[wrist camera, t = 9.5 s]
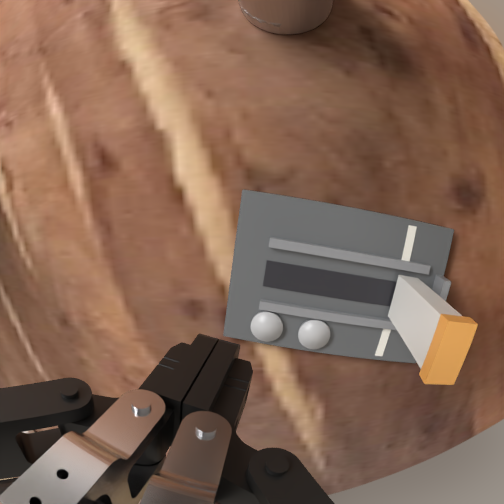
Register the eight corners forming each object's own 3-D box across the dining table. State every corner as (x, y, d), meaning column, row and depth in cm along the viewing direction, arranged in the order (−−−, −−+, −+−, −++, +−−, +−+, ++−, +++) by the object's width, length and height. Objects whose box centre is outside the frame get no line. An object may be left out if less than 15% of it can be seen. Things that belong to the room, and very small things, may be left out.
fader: (385, 317, 28) (424, 383, 17) (397, 272, 27) (448, 321, 16) (407, 320, 28) (453, 384, 17) (420, 276, 27) (478, 324, 16)
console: (225, 330, 32) (218, 345, 29) (244, 189, 29) (238, 189, 26) (412, 357, 30) (421, 373, 27) (448, 228, 27) (463, 232, 24)
